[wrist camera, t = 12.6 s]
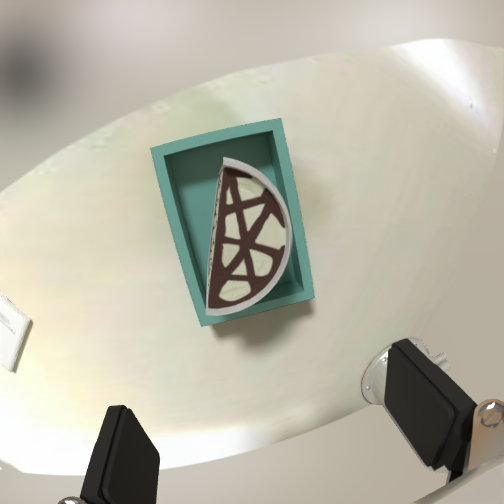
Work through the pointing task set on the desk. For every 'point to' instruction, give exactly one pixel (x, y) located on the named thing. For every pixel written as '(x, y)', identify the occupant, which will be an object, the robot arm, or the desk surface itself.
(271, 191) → the food container
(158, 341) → the desk surface
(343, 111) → the desk surface
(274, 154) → the bin
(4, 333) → the external hard drive
